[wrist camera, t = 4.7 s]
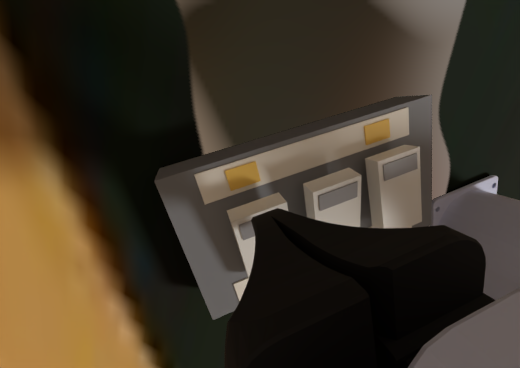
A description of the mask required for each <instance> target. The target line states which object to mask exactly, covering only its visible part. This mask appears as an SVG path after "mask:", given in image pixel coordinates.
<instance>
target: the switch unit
mask: <svg viewBox="0 0 520 368" xmlns="http://www.w3.org/2000/svg"><path fill="white" fill-rule="evenodd" d="M402 145H411V146H418V147H420V172H421V207H422V222H420V223H417V224H415V225H413V226H410V227H408V228H414V227H425V226H429V225H431V217H432V197H431V196H432V195H431V194H432V193H431V192H432V95H421V96H405V97H394V98H391V99H388V100H384V101H381V102H378V103H374V104H371V105H368V106H365V107H361V108H358V109H354V110H351V111H348V112H344V113H341V114H338V115H334V116H331V117H328V118H325V119H321V120H318V121H315V122H312V123H308V124H305V125H301V126H298V127H295V128H292V129H288V130H285V131H282V132H278V133H275V134H272V135H269V136H265V137H262V138H258V139H255V140H252V141H248V142H245V143H242V144H239V145H235V146H232V147H229V148H225V149H222V150H219V151H215V152H212V153H209V154H205V155H202V156H199V157H195V158H192V159H189V160H185V161H182V162H179V163H176V164H172V165H169V166H166V167H162V168H159V171H158V173H157V175H156V178H155V180H154V182H155V184H156V187H157V189H158V191H159V194H160V196H161V198H162V201H163V203H164V205H165V208H166V210H167V213H168V215H169V217H170V220H171V222H172V224H173V227H174V229H175V231H176V234H177V236H178V239H179V241H180V243H181V246H182V248H183V250H184V253H185V255H186V257H187V260H188V262H189V264H190V267H191V269H192V272H193V274H194V276H195V279H196V281H197V283H198V286H199V288H200V290H201V293H202V295H203V298H204V300H205V302H206V305H207V307H208V309H209V312H210V314H211V316H212V319H213V320H214V319H217V318H219V317H221V316H223V315H226V314H228V313H230V312H233V311H235V309H236V307H237V306H238V304H239V302H240V300H241V297H242V295H243V292H244V290H245V288H246V285H247V283H248V280H249V279H248V276H247V273H246V270H245V267H244V263H243V260H242V257H241V254H240V251H239V248H238V245H237V241H236V238H235V235H234V232H233V229H232V226H231V223H230V220H229V216H228V213H227V210H230V209H233V208H236V207H238V206H241V205H244V204H247V203H250V202H253V201H255V200H258V199H261V198H264V197H267V196H270V195H272V194H275V193H278V192H279V193H280V194H281V196H282V197H283V198H284V199H285V200H286V202H287V206H288V211H289V212H292V213H295V214H298V215H301V216H304V217H307V214H306V205H305V196H304V188H303V184H304V183H306V182H309V181H312V180H315V179H318V178H321V177H323V176H326V175H329V174H332V173H335V172H338V171H340V170H343V169H346V168H351V169H352V170H354V171H356V172H357V173H359V174H361V214H360V227H365V228H372V220H371V211H370V201H369V192H368V183H367V173H366V164H365V158H368V157H371V156H374V155H376V154H379V153H382V152H385V151H388V150H391V149H394V148H396V147H399V146H402Z"/></svg>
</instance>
